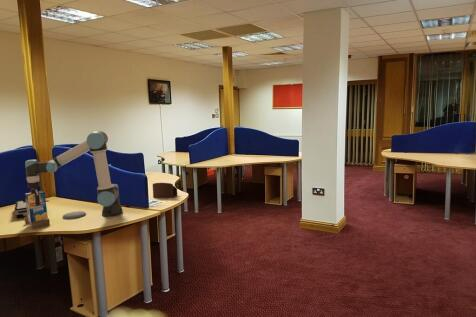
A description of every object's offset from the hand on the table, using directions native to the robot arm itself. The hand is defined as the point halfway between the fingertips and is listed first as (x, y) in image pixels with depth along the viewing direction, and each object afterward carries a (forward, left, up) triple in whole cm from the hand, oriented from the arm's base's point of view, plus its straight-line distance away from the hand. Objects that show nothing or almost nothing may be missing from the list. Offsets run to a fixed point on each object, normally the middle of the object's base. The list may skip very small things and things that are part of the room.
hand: (37, 214), depth 251 cm
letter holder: (-3, -104, -8) cm, 105 cm away
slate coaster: (+1, -25, -8) cm, 27 cm away
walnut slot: (0, +1, -8) cm, 8 cm away
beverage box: (0, 0, -7) cm, 7 cm away
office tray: (+42, -6, -8) cm, 43 cm away
